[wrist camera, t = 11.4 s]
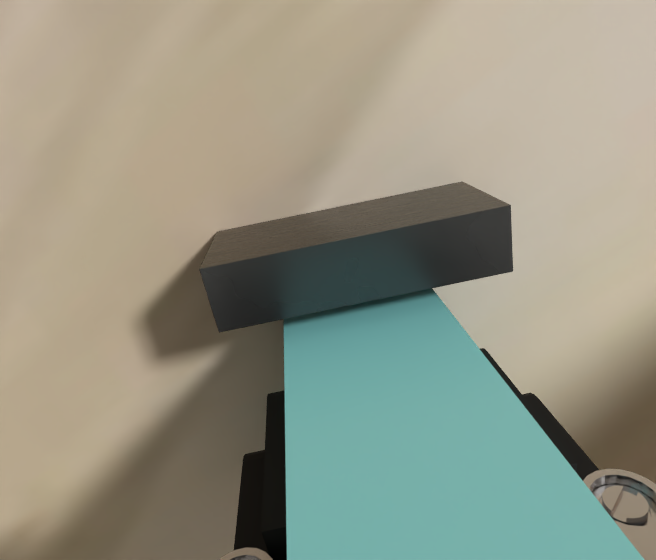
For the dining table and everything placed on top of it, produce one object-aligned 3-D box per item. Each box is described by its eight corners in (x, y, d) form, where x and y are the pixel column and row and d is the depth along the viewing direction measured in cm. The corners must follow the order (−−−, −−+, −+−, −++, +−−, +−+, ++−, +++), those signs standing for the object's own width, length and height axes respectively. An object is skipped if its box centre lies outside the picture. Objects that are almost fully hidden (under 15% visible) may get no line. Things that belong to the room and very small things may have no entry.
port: (462, 181, 13) (510, 204, 10) (481, 442, 17) (521, 512, 14) (217, 231, 13) (199, 269, 10) (289, 483, 17) (290, 561, 14)
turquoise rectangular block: (431, 287, 12) (652, 569, 5) (447, 435, 14) (626, 798, 7) (283, 318, 12) (287, 650, 5) (319, 462, 14) (361, 859, 7)
